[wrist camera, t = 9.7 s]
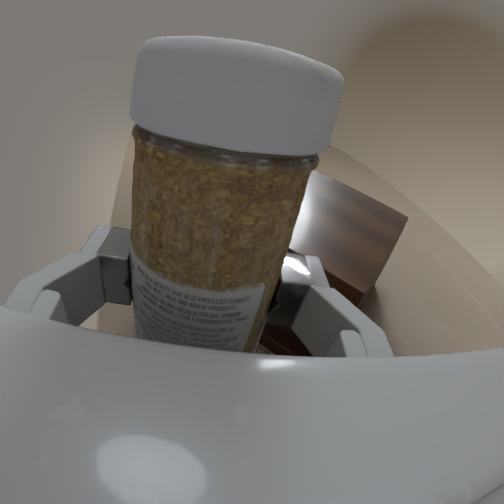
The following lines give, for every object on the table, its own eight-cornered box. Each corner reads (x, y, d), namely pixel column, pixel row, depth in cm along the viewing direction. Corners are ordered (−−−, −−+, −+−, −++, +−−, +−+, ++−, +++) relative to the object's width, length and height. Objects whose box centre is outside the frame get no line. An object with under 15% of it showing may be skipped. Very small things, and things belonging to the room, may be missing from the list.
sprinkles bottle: (253, 377, 14) (359, 79, 7) (207, 449, 11) (328, 51, 3) (175, 335, 15) (213, 46, 8) (121, 394, 12) (96, 33, 4)
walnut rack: (312, 378, 21) (365, 293, 16) (165, 271, 28) (171, 182, 23) (374, 284, 33) (408, 217, 28) (263, 221, 39) (280, 155, 34)
